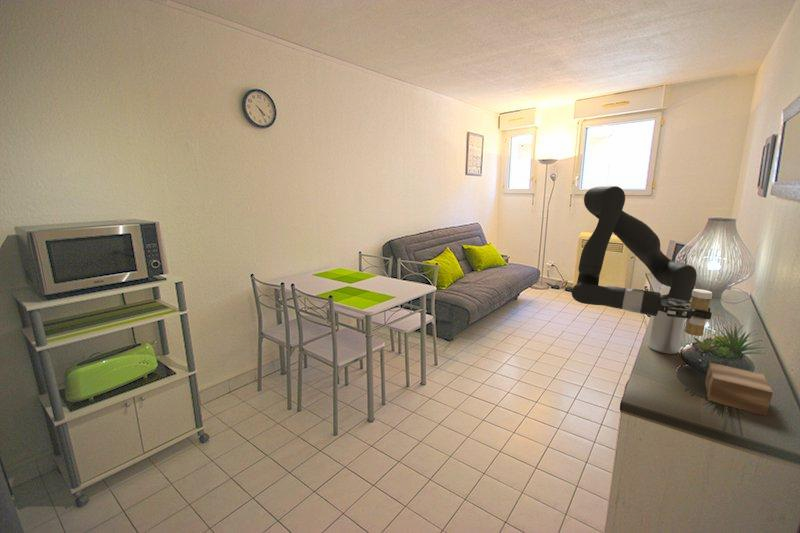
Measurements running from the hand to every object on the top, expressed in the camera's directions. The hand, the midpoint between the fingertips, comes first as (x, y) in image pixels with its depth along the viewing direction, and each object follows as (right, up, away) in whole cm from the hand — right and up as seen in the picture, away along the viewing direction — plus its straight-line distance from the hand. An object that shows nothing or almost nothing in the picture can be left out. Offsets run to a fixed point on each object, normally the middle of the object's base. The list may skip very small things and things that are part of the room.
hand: (710, 313), depth 105 cm
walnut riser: (+6, -25, -1) cm, 25 cm away
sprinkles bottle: (-2, -7, +3) cm, 8 cm away
